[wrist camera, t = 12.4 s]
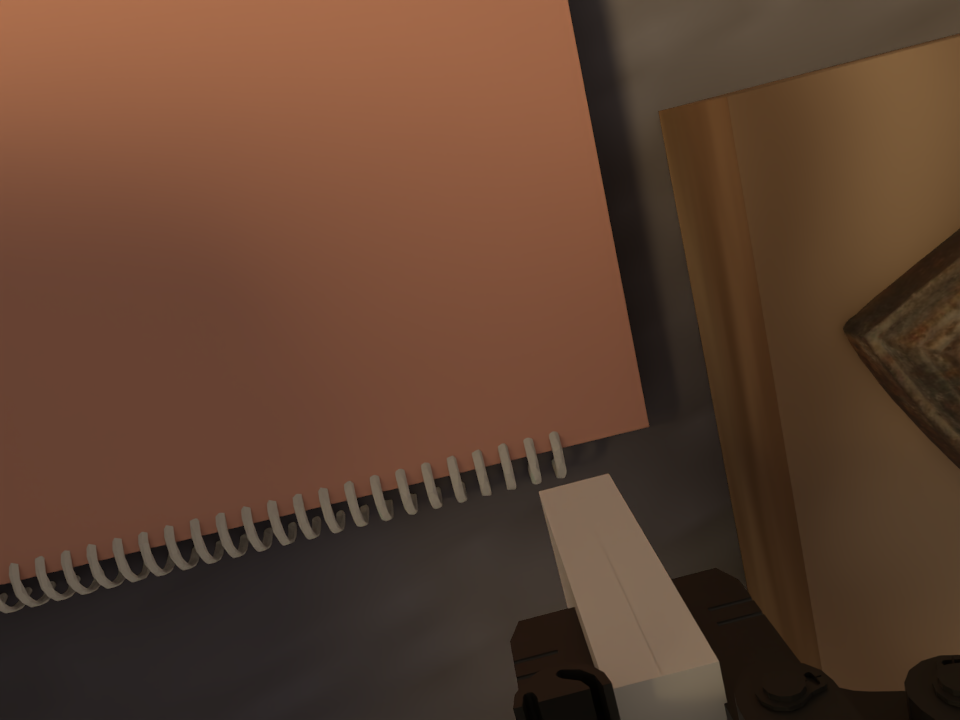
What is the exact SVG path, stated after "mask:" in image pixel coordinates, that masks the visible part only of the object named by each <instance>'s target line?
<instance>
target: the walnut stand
mask: <svg viewBox="0 0 960 720" xmlns="http://www.w3.org/2000/svg"><path fill="white" fill-rule="evenodd" d="M658 112H659V117H660V123H661V128H662V133H663V139H664V144H665V149H666V155H667V160H668V165H669V171H670V176H671V182H672V187H673V192H674V198H675V203H676V208H677V214H678V219H679V224H680V230H681V235H682V240H683V246H684V251H685V256H686V262H687V267H688V273H689V278H690V283H691V289H692V294H693V299H694V305H695V310H696V315H697V321H698V326H699V331H700V337H701V342H702V348H703V353H704V358H705V364H706V369H707V374H708V380H709V385H710V390H711V396H712V401H713V406H714V412H715V417H716V423H717V428H718V433H719V439H720V444H721V449H722V455H723V460H724V465H725V471H726V476H727V481H728V487H729V492H730V498H731V503H732V508H733V514H734V519H735V524H736V530H737V535H738V540H739V546H740V551H741V556H742V562H743V567H744V572H745V578H746V583H747V589H748V593H749V594H750V596H751V597H752V600H754V601H755V602H756V604H757V605H758V606H759V608H760V609H761V610H762V613H763V615H764V614H765V616H766V617H767V618H768V620H769V621H770V622H771V624H772V625H773V626H774V628H775V629H776V630H777V632H778V633H779V634H780V636H781V637H782V638H783V640H784V641H785V642H786V644H787V645H788V646H789V648H790V649H791V650H792V652H793V653H794V654H795V656H796V657H797V658H798V660H799V661H800V662H801V663H805V664H807V665H810V666H812V667H815V668H817V669H820V670H822V671H823V672H824V673H825V674H827V675H828V676H829V677H830V678H831V679H833V680H834V681H835V683H836V684H837V685H838V687H839V688H844V689H849V690H854V691H905V685H904V682H905V679H906V677H907V674H908V671H909V670H910V669H911V668H913V667H914V666H915V665H917V664H918V663H919V662H920V661H922V660H926V659H929V658H933V657H936V656H940V655H960V469H959V468H958V467H957V466H956V465H955V464H954V463H953V462H952V461H951V460H950V459H949V458H948V457H947V456H946V455H945V454H944V453H943V452H942V451H941V450H940V449H939V448H938V447H937V446H936V445H935V444H934V443H932V442H931V441H930V440H929V439H928V437H927V436H926V435H925V434H924V433H923V432H922V431H921V430H920V429H919V428H918V427H917V426H916V425H915V423H914V422H913V421H912V420H911V419H910V418H909V417H908V416H907V415H906V413H905V412H904V411H903V410H902V409H901V408H900V407H899V406H898V405H897V404H896V403H895V402H894V401H893V400H892V398H891V397H890V396H889V395H888V394H887V392H886V391H885V390H884V389H883V387H882V386H881V385H880V384H879V382H878V381H877V380H876V378H875V377H874V376H873V374H872V373H871V372H870V371H869V369H868V368H867V367H866V366H865V364H864V363H863V362H862V361H861V359H860V358H859V356H858V354H857V353H856V351H855V350H854V348H853V347H852V346H851V344H850V342H849V341H848V339H847V337H846V335H845V333H844V331H843V327H844V325H845V324H846V322H847V321H848V320H849V319H850V318H852V317H853V316H854V315H856V314H857V313H858V312H859V311H860V310H861V309H862V308H863V307H864V306H865V305H866V304H868V303H869V302H870V301H871V300H872V299H873V298H874V297H875V296H877V295H878V294H879V293H881V292H882V291H883V290H884V289H886V288H887V287H888V286H889V285H891V284H892V283H893V282H894V281H896V280H897V279H898V278H899V277H900V276H902V275H903V274H904V273H905V272H906V271H908V270H909V269H910V268H911V267H912V266H914V265H915V264H916V263H917V262H918V261H920V260H921V259H922V258H923V257H925V256H926V255H927V254H929V253H930V252H931V251H932V250H934V249H935V248H936V247H937V246H939V245H940V244H941V243H942V242H944V241H945V240H946V239H947V238H949V237H950V236H951V235H952V234H953V233H955V232H956V231H957V230H958V229H960V34H956V35H952V36H948V37H944V38H941V39H937V40H933V41H929V42H925V43H921V44H917V45H913V46H910V47H906V48H902V49H898V50H894V51H890V52H886V53H882V54H879V55H875V56H871V57H867V58H863V59H859V60H855V61H851V62H848V63H844V64H840V65H836V66H832V67H828V68H824V69H820V70H817V71H813V72H809V73H805V74H801V75H797V76H793V77H789V78H786V79H782V80H778V81H774V82H770V83H766V84H762V85H758V86H755V87H751V88H747V89H743V90H739V91H735V92H731V93H727V94H724V95H720V96H716V97H712V98H708V99H704V100H700V101H696V102H693V103H689V104H685V105H681V106H677V107H673V108H669V109H665V110H662V111H658Z"/></svg>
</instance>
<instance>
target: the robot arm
mask: <svg viewBox="0 0 960 720" xmlns="http://www.w3.org/2000/svg"><path fill="white" fill-rule="evenodd" d="M539 496H540V500H541V504H542V508H543V512H544V516H545V520H546V524H547V528H548V532H549V536H550V540H551V544H552V548H553V552H554V556H555V560H556V564H557V568H558V572H559V576H560V580H561V584H562V588H563V592H564V596H565V600H566V604H567V607H568V609H564V610H560V611H557V612H553V613H549V614H545V615H541V616H537V617H533V618H530V619H526V620H522V621H519V622H518V625H517V627H516V629H515V632H514V634H513V636H512V639H511V641H510V643H511V648H512V654H513V660H514V664H515V671H516V677H517V682H518V688H519V690H518V691H517V693H516V694H515V698H514V706H513V710H514V713H515V717H516V720H960V655H940V656H936V657H933V658H929V659H926V660H922V661H920V662H919V663H918V664H917V665H915V666H914V667H913V668H911V669H910V670H909V671H908V674H907V677H906V679H905V682H904V685H905V691H854V690H849V689H844V688H839V687H838V685H837V684H836V683H835V681H834V680H833V679H831V678H830V677H829V676H828V675H827V674H825V673H824V672H823V671H822V670H820V669H817V668H815V667H812V666H810V665H807V664H805V663H801V662H800V661H799V660H798V658H797V657H796V656H795V654H794V653H793V652H792V650H791V649H790V648H789V646H788V645H787V644H786V642H785V641H784V640H783V638H782V637H781V636H780V634H779V633H778V632H777V630H776V629H775V628H774V626H773V625H772V624H771V622H770V621H769V620H768V618H767V617H766V616H765V614H764V615H763V613H762V610H761V609H760V608H759V606H758V605H757V604H756V602H755V601H754V600H752V597H751V596H750V594H749V593H748V592H747V590H746V589H745V588H744V586H743V585H742V584H741V582H740V581H739V580H738V579H736V578H734V577H732V576H730V575H728V574H727V573H725V572H723V571H721V570H719V569H717V568H714V569H710V570H706V571H702V572H698V573H694V574H690V575H687V576H683V577H679V578H675V579H670V577H669V575H668V574H667V572H666V570H665V569H664V567H663V565H662V563H661V562H660V560H659V558H658V557H657V555H656V553H655V552H654V550H653V548H652V546H651V545H650V543H649V541H648V540H647V538H646V536H645V534H644V533H643V531H642V529H641V528H640V526H639V524H638V523H637V521H636V519H635V517H634V516H633V514H632V512H631V511H630V509H629V507H628V505H627V504H626V502H625V500H624V499H623V497H622V495H621V494H620V492H619V490H618V488H617V487H616V485H615V483H614V482H613V480H612V478H611V477H610V475H609V473H608V474H604V475H600V476H596V477H593V478H589V479H585V480H581V481H577V482H573V483H569V484H566V485H562V486H558V487H554V488H550V489H546V490H542V491H539Z"/></svg>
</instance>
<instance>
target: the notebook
mask: <svg viewBox="0 0 960 720" xmlns="http://www.w3.org/2000/svg"><path fill="white" fill-rule="evenodd" d="M646 427H649V423H648V418H647V412H646V407H645V402H644V397H643V391H642V386H641V381H640V376H639V370H638V365H637V360H636V355H635V350H634V344H633V339H632V334H631V329H630V323H629V318H628V313H627V308H626V302H625V297H624V292H623V287H622V282H621V276H620V271H619V266H618V261H617V255H616V250H615V245H614V240H613V235H612V229H611V224H610V219H609V214H608V208H607V203H606V198H605V193H604V187H603V182H602V177H601V172H600V167H599V161H598V156H597V151H596V146H595V140H594V135H593V130H592V125H591V119H590V114H589V109H588V104H587V99H586V93H585V88H584V83H583V78H582V72H581V67H580V62H579V57H578V51H577V46H576V41H575V36H574V31H573V25H572V20H571V15H570V10H569V4H568V0H0V585H2V584H6V583H10V582H11V584H12V587H13V590H14V593H15V595H16V596H17V598H18V599H19V601H18V603H17V604H15V605H14V606H12V607H9V606H8V605H6V604H5V603H6V600H7V598H8V595H7V594H6V593H2V594H1V595H0V611H2V612H4V613H11V612H15V611H17V610H20V609H22V608H23V607H24V606H25V605H28V606H30V607H35V606H40V605H42V604H44V603H47V602H48V601H49V599H50V598H52V599H53V600H55V601H59V600H64V599H67V598H69V597H71V596H73V594H74V593H75V592H78V593H79V594H81V595H84V594H89V593H92V592H94V591H96V590H97V589H98V588H99V586H100V585H102V586H103V587H105V588H107V589H108V588H113V587H116V586H118V585H121V584H122V583H123V581H124V580H125V578H126V579H127V580H129V581H131V582H132V583H133V582H136V581H139V580H142V579H145V578H147V576H148V574H149V573H150V571H151V572H152V573H153V574H154V575H156V576H162V575H166V574H168V573H170V572H171V571H172V570H173V568H174V565H175V564H176V565H177V566H178V567H179V568H180V569H182V570H187V569H190V568H192V567H195V566H196V565H197V563H198V561H199V556H200V557H201V558H202V560H203V561H204V562H206V563H207V564H211V563H215V562H217V561H219V560H221V558H222V556H223V552H224V549H225V550H226V551H227V553H228V554H229V555H230V556H231V557H233V558H236V557H240V556H242V555H244V554H245V553H246V551H247V549H248V542H249V541H250V543H251V544H252V546H253V547H254V548H255V550H257V551H258V552H260V551H264V550H266V549H268V548H270V546H271V544H272V538H273V533H274V534H275V536H276V537H277V539H278V540H279V542H280V543H281V544H282V545H283V546H284V545H287V544H290V543H293V542H295V539H296V536H297V524H296V523H295V522H292V523H290V524H289V525H288V537H287V536H286V534H285V532H284V529H283V527H282V524H281V521H280V518H279V517H281V516H285V515H289V514H293V513H296V517H297V521H298V524H299V527H300V529H301V530H302V532H303V533H304V535H305V537H306V538H307V539H314V538H316V537H318V536H319V535H320V532H321V518H320V517H319V516H316V517H314V518H313V519H312V529H311V527H310V524H309V521H308V518H307V516H306V513H305V511H306V510H310V509H314V508H318V507H321V508H322V512H323V515H324V519H325V521H326V523H327V525H328V527H329V528H330V530H331V532H333V533H338V532H340V531H342V530H344V527H345V513H344V511H343V510H340V511H339V512H337V513H336V519H335V516H334V513H333V510H332V507H331V504H334V503H339V502H343V501H347V502H348V505H349V509H350V512H351V514H352V517H353V519H354V521H355V523H356V526H359V527H362V526H365V525H367V524H368V523H369V507H368V505H367V504H366V505H363V506H360V508H359V506H358V502H357V498H359V497H363V496H367V495H371V494H373V497H374V501H375V505H376V507H377V510H378V513H379V515H380V517H381V519H382V520H384V521H388V520H390V519H392V518H393V516H394V507H393V500H384V497H383V493H382V492H384V491H388V490H392V489H396V488H399V492H400V496H401V499H402V502H403V505H404V509H405V510H406V511H407V513H408V514H412V515H415V514H416V513H417V512H418V501H417V494H410V492H409V488H408V485H412V484H416V483H421V482H424V483H425V487H426V491H427V495H428V498H429V501H430V504H431V505H432V507H433V508H434V509H437V508H440V507H442V505H443V502H442V494H441V488H440V487H435V483H434V479H437V478H441V477H445V476H449V475H450V478H451V482H452V486H453V489H454V493H455V497H456V499H457V501H458V502H460V503H462V502H465V501H466V500H467V493H466V488H465V483H464V482H462V481H461V477H460V473H462V472H466V471H470V470H474V469H476V473H477V477H478V481H479V485H480V489H481V493H482V496H489V495H491V494H492V491H491V486H490V482H489V478H488V476H487V473H486V469H485V467H486V466H490V465H494V464H498V463H501V464H502V468H503V472H504V478H505V482H506V486H507V490H512V489H516V482H515V477H514V472H513V468H512V464H511V460H515V459H519V458H523V457H527V459H528V464H529V465H528V472H529V475H530V479H531V482H532V483H533V484H539V483H541V480H542V478H541V473H540V468H539V464H538V459H537V455H536V454H539V453H544V452H548V451H553V455H554V459H552V462H551V463H552V466H553V469H554V472H555V475H556V477H557V478H565V476H566V473H567V471H566V465H565V460H564V454H563V450H562V448H564V447H568V446H572V445H576V444H580V443H585V442H589V441H593V440H597V439H601V438H605V437H609V436H613V435H617V434H621V433H626V432H630V431H634V430H638V429H642V428H646ZM269 519H270V522H271V526H272V529H273V530H272V529H271V528H268V529H266V530H265V531H264V539H263V542H261V541H260V540H259V537H258V535H257V532H256V529H255V527H254V524H253V523H257V522H261V521H265V520H269ZM240 526H244V528H245V531H246V534H243V535H242V536H240V544H239V547H238V550H237V549H236V548H235V547H234V545H233V543H232V540H231V538H230V535H229V533H228V529H232V528H236V527H240ZM215 532H218V533H219V537H220V540H219V541H218V542H216V548H215V552H214V555H213V557H212V556H211V555H210V554H209V553H208V550H207V548H206V546H205V543H204V541H203V538H202V536H203V535H207V534H211V533H215ZM191 538H192V540H193V543H194V546H195V547H193V548H192V553H191V557H190V560H189V562H188V563H187V562H186V561H185V560H184V559H183V558H182V556H181V553H180V551H179V549H178V547H177V544H176V542H179V541H183V540H187V539H191ZM162 545H167V548H168V551H169V554H168V558H167V562H166V565H165V567H164V568H163V569H161V568H160V567H159V566H158V565H157V564H156V561H155V559H154V557H153V555H152V553H151V550H150V548H154V547H158V546H162ZM138 551H141V554H142V557H143V560H144V563H143V567H142V571H141V573H140V574H139V575H136V574H134V573H133V572H132V571H131V569H130V567H129V565H128V563H127V561H126V559H125V554H129V553H133V552H138ZM113 557H115V560H116V563H117V566H118V569H119V572H118V575H117V577H116V579H115V580H114V581H113V582H111V581H110V580H109V579H107V578H106V577H105V575H104V573H105V572H104V571H103V570H102V568H101V566H100V564H99V562H98V561H101V560H105V559H109V558H113ZM88 563H89V566H90V569H91V572H92V575H93V577H94V580H93V582H92V584H91V586H89V587H88V588H85V587H84V586H82V585H81V584H80V583H79V581H80V577H79V576H78V575H75V572H74V570H73V567H76V566H80V565H84V564H88ZM60 570H63V571H64V575H65V578H66V581H67V583H68V584H69V587H68V589H67V591H66V592H65V593H63V594H59V593H58V592H57V591H55V590H54V589H55V587H56V583H55V582H54V581H51V582H50V580H49V578H48V577H47V575H46V574H47V573H51V572H56V571H60ZM35 576H37V578H38V581H39V584H40V587H41V589H42V590H43V591H44V594H43V596H42V597H41V598H40V599H38V600H37V601H36V600H34V599H32V598H31V597H30V594H31V592H32V589H31V588H30V587H27V588H24V586H23V584H22V583H21V581H20V580H23V579H27V578H31V577H35Z"/></svg>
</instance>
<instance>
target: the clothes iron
mask: <svg viewBox="0 0 960 720" xmlns="http://www.w3.org/2000/svg"><path fill="white" fill-rule="evenodd" d="M843 331H844V333H845V335H846V337H847V339H848V341H849V342H850V344H851V346H852V347H853V348H854V350H855V351H856V353H857V354H858V356H859V358H860V359H861V361H862V362H863V363H864V364H865V366H866V367H867V368H868V369H869V371H870V372H871V373H872V374H873V376H874V377H875V378H876V380H877V381H878V382H879V384H880V385H881V386H882V387H883V389H884V390H885V391H886V392H887V394H888V395H889V396H890V397H891V398H892V400H893V401H894V402H895V403H896V404H897V405H898V406H899V407H900V408H901V409H902V410H903V411H904V412H905V413H906V415H907V416H908V417H909V418H910V419H911V420H912V421H913V422H914V423H915V425H916V426H917V427H918V428H919V429H920V430H921V431H922V432H923V433H924V434H925V435H926V436H927V437H928V439H929V440H930V441H931V442H932V443H934V444H935V445H936V446H937V447H938V448H939V449H940V450H941V451H942V452H943V453H944V454H945V455H946V456H947V457H948V458H949V459H950V460H951V461H952V462H953V463H954V464H955V465H956V466H957V467H958V468H959V469H960V229H958V230H957V231H956V232H955V233H953V234H952V235H951V236H950V237H949V238H947V239H946V240H945V241H944V242H942V243H941V244H940V245H939V246H937V247H936V248H935V249H934V250H932V251H931V252H930V253H929V254H927V255H926V256H925V257H923V258H922V259H921V260H920V261H918V262H917V263H916V264H915V265H914V266H912V267H911V268H910V269H909V270H908V271H906V272H905V273H904V274H903V275H902V276H900V277H899V278H898V279H897V280H896V281H894V282H893V283H892V284H891V285H889V286H888V287H887V288H886V289H884V290H883V291H882V292H881V293H879V294H878V295H877V296H875V297H874V298H873V299H872V300H871V301H870V302H869V303H868V304H866V305H865V306H864V307H863V308H862V309H861V310H860V311H859V312H858V313H857V314H856V315H854V316H853V317H852V318H850V319H849V320H848V321H847V322H846V324H845V325H844V327H843Z"/></svg>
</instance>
